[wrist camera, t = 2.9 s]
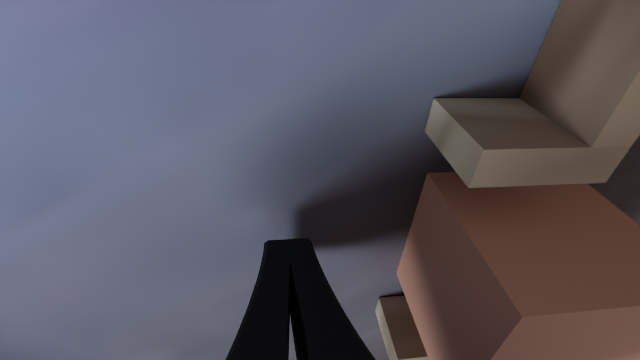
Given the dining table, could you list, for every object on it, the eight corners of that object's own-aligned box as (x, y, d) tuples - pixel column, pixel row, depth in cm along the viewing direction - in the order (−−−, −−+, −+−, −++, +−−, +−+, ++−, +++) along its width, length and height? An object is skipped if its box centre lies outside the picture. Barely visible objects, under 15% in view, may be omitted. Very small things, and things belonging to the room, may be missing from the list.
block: (508, 263, 14) (601, 392, 10) (395, 272, 14) (449, 413, 10) (566, 167, 11) (729, 297, 7) (426, 171, 11) (522, 317, 7)
